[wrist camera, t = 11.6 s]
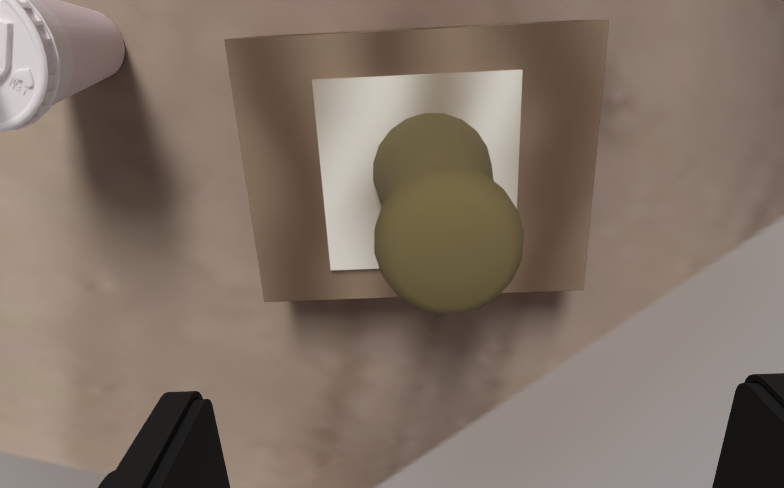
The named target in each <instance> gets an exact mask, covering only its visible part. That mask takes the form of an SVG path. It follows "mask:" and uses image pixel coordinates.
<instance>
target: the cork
mask: <svg viewBox="0 0 784 488" xmlns="http://www.w3.org/2000/svg"><path fill="white" fill-rule="evenodd" d="M373 182H374V185H375V188H376V191H377V194H378V197H379V200H380V203H381V206H382V208H381V210H380V213H379V216H378V219H377V222H376V225H375V230H374V254H375V257H376V260H377V262H378V265H379V268H380V271H381V274H382V275H383V277H384V279H385V280H386V281H387V283H388V284H389V285H390V287H391V288H392V289H393V290H394V292H395V293H396V294H397V295H398V296H399V297H401V298H402V299H404V300H405V301H407V302H408V303H410V304H411V305H413V306H414V307H417V308H420V309H423V310H427V311H430V312H433V313H461V312H465V311H469V310H472V309H476V308H479V307H481V306H483V305H484V304H486V303H488V302H489V301H491V300H493V299H494V298H496V297H498V296H499V294H500V293H501V292H502V291H503V290H504V289H505V288H506V287H507V286H508V285H509V284H510V283H511V281H512V280H513V278H514V276H515V274H516V272H517V269H518V267H519V265H520V263H521V260H522V251H523V242H524V231H523V227H522V223H521V218H520V214H519V211H518V210H517V208H516V207H515V205H514V204H513V202H512V201H511V199H510V198H509V196H508V195H507V193H506V192H505V190H504V189H503V188H502V187H501V186H499V185H498V184H497V183H495V182H494V180H493V172H492V164H491V160H490V156H489V152H488V148H487V146H486V144H485V143H484V141H483V140H482V138H481V136H480V135H479V133H478V132H477V131H476V130H475V129H474V128H472V127H471V126H470V125H469V124H467V123H466V122H465V121H463V120H462V119H459V118H456V117H453V116H451V115H448V114H445V113H423V114H420V115H417V116H414V117H410V118H407V119H405V120H404V121H402V122H401V123H400V124H398V125H397V126H395V127H394V128H393V129H391V130H390V131H389V133H388V134H387V135H386V137H385V138H384V139H383V141H382V142H381V143H380V145H379V147H378V150H377V153H376V156H375V159H374V162H373Z"/></svg>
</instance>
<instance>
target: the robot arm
mask: <svg viewBox="0 0 784 488" xmlns="http://www.w3.org/2000/svg"><path fill="white" fill-rule="evenodd" d="M98 488H230V485H229V480H228V476H227V471H226V466H225V462H224V457H223V452H222V448H221V443H220V439H219V434H218V429H217V425H216V420H215V415H214V411H213V406H212V403H211V401H210V400H209V399H203V398H202V395H201V394H200V393H199V392H197V391H189V392H167V393H164V394H163V396H162V397H161V398H160V400H159V401H158V403H157V405H156V406H155V408H154V409H153V411H152V413H151V414H150V416H149V417H148V419H147V421H146V422H145V424H144V425H143V427H142V429H141V430H140V432H139V433H138V435H137V437H136V438H135V440H134V441H133V443H132V445H131V446H130V448H129V449H128V451H127V453H126V454H125V456H124V458H123V459H122V461H121V462H120V464H119V466H118V467H117V469H116V470H115V471H113V472H111V473H109V474H108V475H107V476H106V477H105V478H104V480H103V481H102V482H101V484H100V485H99V487H98ZM712 488H784V373H781V374H753V375H750V376H748V377H747V378H746V380H745V382H744V383H742V384H739V385H738V386H737V389H736V391H735V395H734V400H733V404H732V409H731V412H730V416H729V420H728V425H727V429H726V433H725V437H724V442H723V446H722V449H721V454H720V458H719V462H718V466H717V471H716V475H715V479H714V483H713V487H712Z"/></svg>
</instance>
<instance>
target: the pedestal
mask: <svg viewBox="0 0 784 488" xmlns="http://www.w3.org/2000/svg"><path fill="white" fill-rule="evenodd" d="M608 29H609V20H574V21H554V22H534V23H514V24H494V25H474V26H455V27H435V28H415V29H395V30H375V31H355V32H335V33H315V34H296V35H276V36H256V37H244V38H234V39H225V47H226V53H227V60H228V66H229V73H230V80H231V86H232V93H233V99H234V106H235V112H236V119H237V125H238V132H239V139H240V145H241V152H242V158H243V165H244V171H245V178H246V185H247V191H248V198H249V204H250V211H251V217H252V224H253V230H254V237H255V244H256V250H257V257H258V263H259V270H260V276H261V283H262V289H263V296H264V302H283V301H309V300H335V299H361V298H387V297H399V296H398V295H397V294H396V293H395V292H394V290H393V289H392V288H391V287H390V285H389V284H388V283H387V281H386V280H385V279H384V277H383V275H382V274H381V271H380V268H379V265H378V262H377V260H376V257H375V254H374V230H375V225H376V222H377V219H378V216H379V213H380V210H381V208H382V206H381V203H380V200H379V197H378V194H377V191H376V188H375V185H374V182H373V162H374V159H375V156H376V153H377V150H378V147H379V145H380V143H381V142H382V141H383V139H384V138H385V137H386V135H387V134H388V133H389V131H390V130H391V129H393V128H394V127H395V126H397V125H398V124H400V123H401V122H402V121H404V120H405V119H407V118H410V117H414V116H417V115H420V114H423V113H445V114H448V115H451V116H453V117H456V118H459V119H462V120H463V121H465V122H466V123H467V124H469V125H470V126H471V127H472V128H474V129H475V130H476V131H477V132H478V133H479V135H480V136H481V138H482V140H483V141H484V143H485V144H486V146H487V148H488V152H489V156H490V160H491V164H492V172H493V180H494V182H495V183H497V184H498V185H499V186H501V187H502V188H503V189H504V190H505V192H506V193H507V195H508V196H509V198H510V199H511V201H512V202H513V204H514V205H515V207H516V208H517V210H518V211H519V214H520V218H521V223H522V227H523V231H524V242H523V251H522V260H521V263H520V265H519V267H518V269H517V272H516V274H515V276H514V278H513V280H512V281H511V283H510V284H509V285H508V286H507V287H506V288H505V289H504V290H503V291H502V292H501V293H518V292H544V291H570V290H584V280H585V270H586V259H587V249H588V238H589V228H590V217H591V207H592V196H593V186H594V175H595V165H596V155H597V144H598V134H599V123H600V113H601V102H602V92H603V81H604V71H605V60H606V50H607V39H608Z"/></svg>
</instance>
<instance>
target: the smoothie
mask: <svg viewBox="0 0 784 488" xmlns="http://www.w3.org/2000/svg"><path fill="white" fill-rule="evenodd" d="M124 55H125V47H124V41H123V38H122V36H121V33H120V31H119V30H118V28H117V27H116V25H115V24H114V23H113V22H112V21H111V20H110V19H109V18H108V17H106V16H105V15H103V14H102V13H100V12H97V11H95V10H91V9H88V8H84V7H81V6H77V5H74V4H70V3H67V2H63V1H60V0H0V132H4V131H8V130H18V129H21V128H23V127H25V126H28V125H30V124H33V123H35V122H36V121H37V120H38V119H39V118H41V117H42V116H43V115H44V114H45V113H46V112H47V111H48V110H49V108H50V107H51V106H52V105H54V104H56V103H58V102H60V101H62V100H64V99H66V98H68V97H70V96H72V95H74V94H76V93H78V92H80V91H82V90H84V89H86V88H88V87H90V86H92V85H94V84H96V83H98V82H100V81H102V80H104V79H106V78H108V77H110V76H111V75H113V74H115V73H116V72H117V71H118V70H119V68H120V67H121V65H122V63H123V60H124Z"/></svg>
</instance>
